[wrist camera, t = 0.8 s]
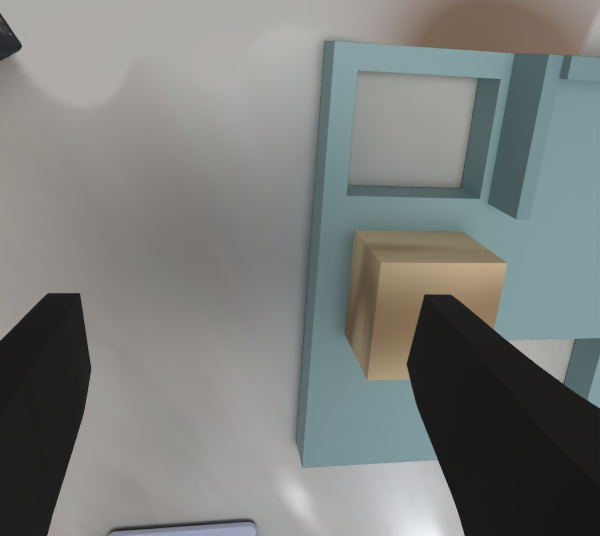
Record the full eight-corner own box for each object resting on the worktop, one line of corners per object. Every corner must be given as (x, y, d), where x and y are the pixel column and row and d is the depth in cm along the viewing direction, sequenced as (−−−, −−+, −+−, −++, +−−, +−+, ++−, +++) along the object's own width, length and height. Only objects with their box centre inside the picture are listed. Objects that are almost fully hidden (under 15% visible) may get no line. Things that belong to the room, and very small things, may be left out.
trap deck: (568, 428, 33) (626, 490, 29) (296, 442, 31) (312, 512, 26) (666, 64, 26) (763, 68, 22) (324, 41, 24) (354, 40, 19)
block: (446, 332, 27) (484, 376, 24) (344, 334, 27) (367, 380, 23) (463, 231, 26) (507, 263, 22) (354, 230, 25) (381, 262, 21)
